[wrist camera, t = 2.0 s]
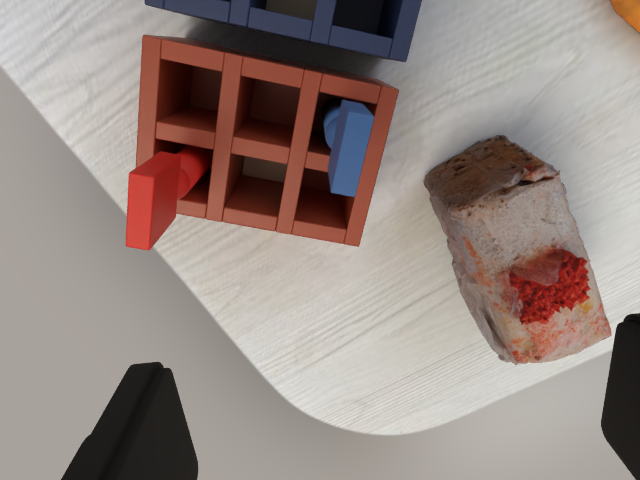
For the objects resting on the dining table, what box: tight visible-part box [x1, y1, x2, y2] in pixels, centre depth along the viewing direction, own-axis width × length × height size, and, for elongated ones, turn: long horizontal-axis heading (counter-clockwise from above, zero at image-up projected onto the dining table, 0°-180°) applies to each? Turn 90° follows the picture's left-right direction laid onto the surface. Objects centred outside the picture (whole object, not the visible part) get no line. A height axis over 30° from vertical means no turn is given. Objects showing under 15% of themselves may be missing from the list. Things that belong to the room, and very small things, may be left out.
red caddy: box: [136, 35, 399, 247], centre depth 28 cm, size 13×9×8 cm
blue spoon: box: [322, 98, 374, 197], centre depth 24 cm, size 2×3×14 cm, turn 169°
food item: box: [424, 135, 611, 365], centre depth 30 cm, size 14×8×10 cm, turn 29°
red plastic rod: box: [126, 145, 214, 250], centre depth 25 cm, size 2×3×14 cm, turn 169°
